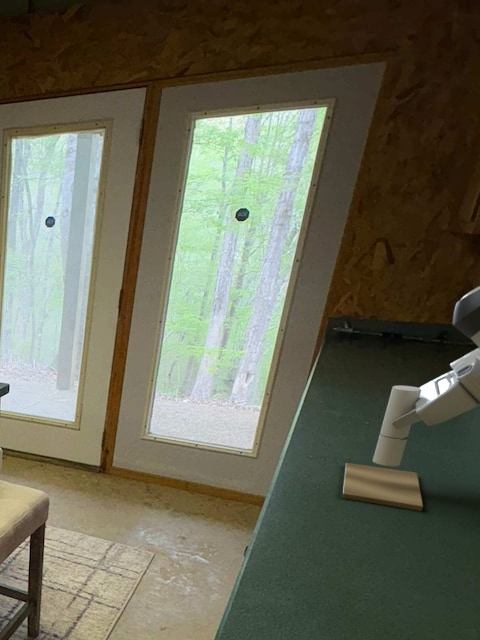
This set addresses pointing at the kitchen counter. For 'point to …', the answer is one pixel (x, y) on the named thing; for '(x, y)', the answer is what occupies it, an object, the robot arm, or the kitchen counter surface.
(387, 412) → the tube
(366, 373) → the kitchen counter surface
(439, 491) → the kitchen counter surface
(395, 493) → the birch board
